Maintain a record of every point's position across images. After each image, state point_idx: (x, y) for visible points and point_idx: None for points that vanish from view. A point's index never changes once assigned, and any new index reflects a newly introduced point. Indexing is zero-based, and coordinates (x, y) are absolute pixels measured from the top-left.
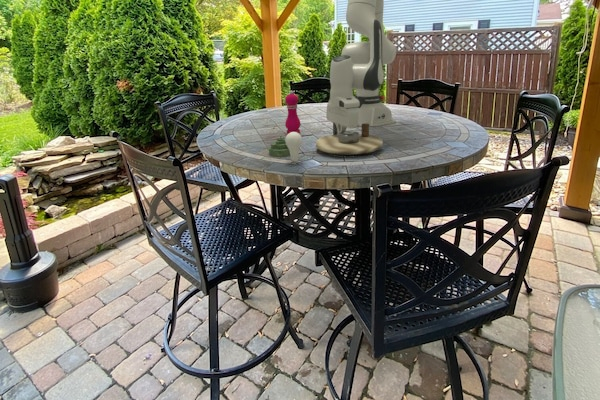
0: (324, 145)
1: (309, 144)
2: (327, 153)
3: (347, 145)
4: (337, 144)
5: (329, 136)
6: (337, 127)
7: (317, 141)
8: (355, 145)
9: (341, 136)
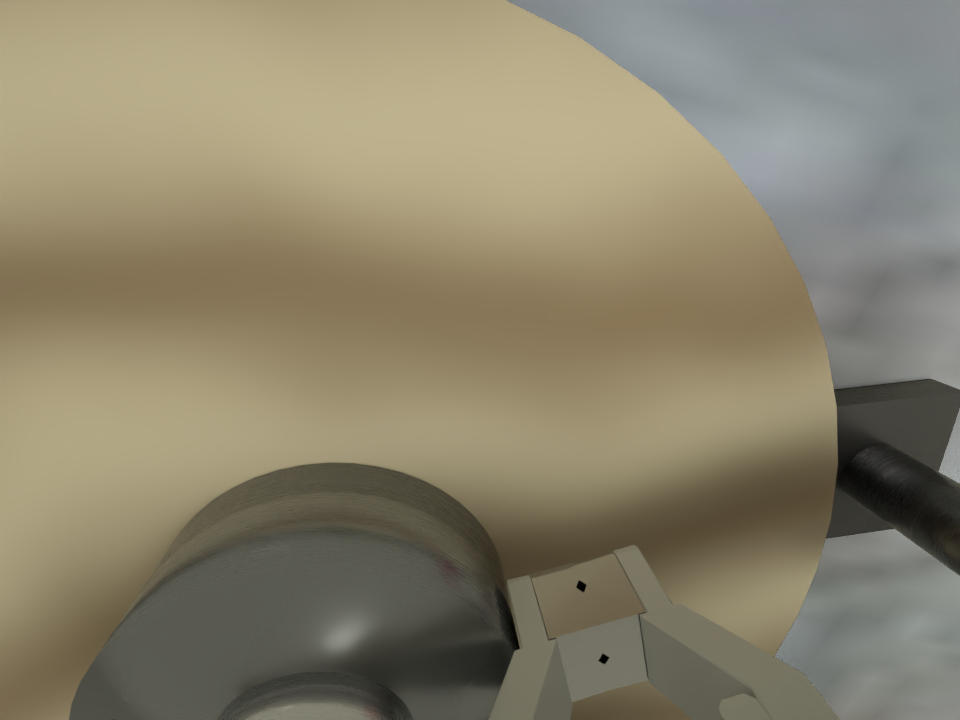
0: (59, 114)
1: (852, 20)
2: None
3: (29, 551)
4: (131, 408)
5: (779, 390)
6: (717, 663)
7: (503, 43)
8: (21, 654)
9: (170, 588)
